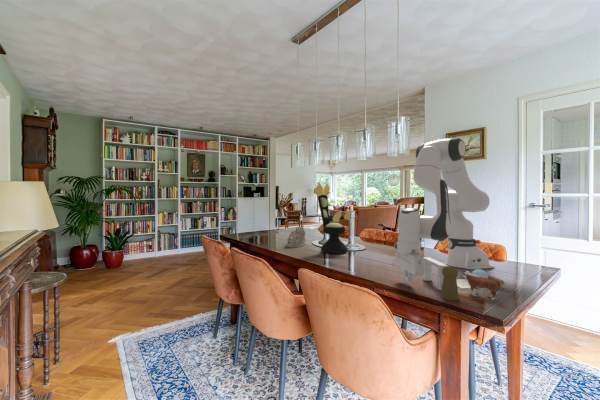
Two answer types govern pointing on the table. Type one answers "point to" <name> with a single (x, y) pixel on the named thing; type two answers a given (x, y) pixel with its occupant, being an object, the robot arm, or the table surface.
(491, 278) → the stopper
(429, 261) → the bridge
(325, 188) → the candelabra
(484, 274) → the ball
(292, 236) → the ceramic cottage
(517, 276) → the table surface
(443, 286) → the olive tall rounded piece
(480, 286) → the bull figurine
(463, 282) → the blank cream square sheet
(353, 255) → the table surface
